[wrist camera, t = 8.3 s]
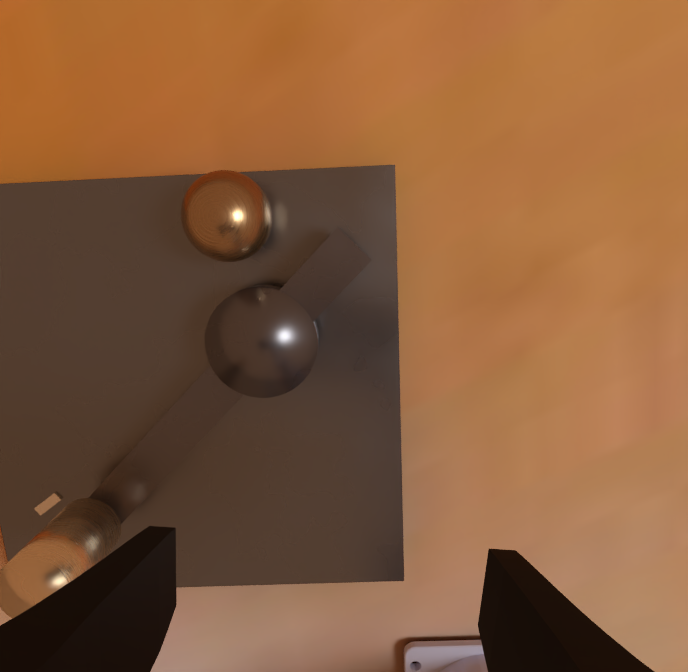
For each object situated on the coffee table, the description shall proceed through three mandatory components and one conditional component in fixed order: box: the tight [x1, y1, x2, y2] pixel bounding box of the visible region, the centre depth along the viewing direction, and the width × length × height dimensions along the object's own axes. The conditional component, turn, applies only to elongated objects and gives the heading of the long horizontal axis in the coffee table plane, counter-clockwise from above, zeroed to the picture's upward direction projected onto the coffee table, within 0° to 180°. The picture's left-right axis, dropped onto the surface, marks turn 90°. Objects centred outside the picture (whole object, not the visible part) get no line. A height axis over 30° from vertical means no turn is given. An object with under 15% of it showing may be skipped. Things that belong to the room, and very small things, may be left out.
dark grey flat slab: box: [0, 165, 404, 587], centre depth 19 cm, size 17×17×4 cm
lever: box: [0, 227, 371, 618], centre depth 17 cm, size 16×4×4 cm, turn 137°
